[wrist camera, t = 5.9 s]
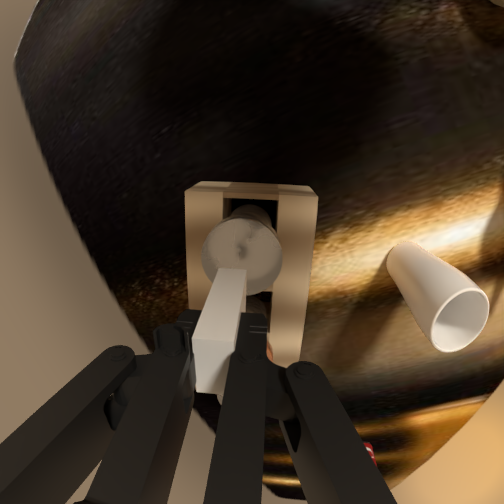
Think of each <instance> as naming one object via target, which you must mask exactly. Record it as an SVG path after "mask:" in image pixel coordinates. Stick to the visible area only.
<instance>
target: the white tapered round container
mask: <svg viewBox="0 0 504 504" xmlns="http://www.w3.org/2000/svg"><path fill="white" fill-rule="evenodd" d="M489 1H491V2H492V3H494V4H496V5H498V6H501V7H504V0H489Z"/></svg>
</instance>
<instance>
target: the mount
mask: <svg viewBox="0 0 504 504" xmlns="http://www.w3.org/2000/svg"><path fill="white" fill-rule="evenodd" d="M232 198H244V199H265V200H277V204H276V221H275V232H276V233H277V235H278V237H279V239H280V242H281V247H282V267H281V271H280V273H279V275H278V277H277V279H276V280H275V281H274V283H273V284H272V285H271V286H269V287H268V288H267V289H265V290H264V291H271V298H270V302H266V301H262V302H263V303H264V305H265V307H266V318H267V340H268V341H269V343H270V345H271V346H272V349H273V363H274V364H276V365H279V366H282V367H285V368H287V367H288V366H289V365H291V364H292V363H295V362H298V361H299V356H300V349H301V343H302V336H303V329H304V322H305V315H306V307H307V299H308V292H309V283H310V275H311V266H312V258H313V248H314V239H315V228H316V218H317V207H318V196H317V195H316V194H315V193H314V191H313V190H312V189H311V188H310V187H309V186H299V185H283V184H265V183H243V182H211V181H201V182H199V183H198V184H196V185H194V186H193V187H191V188H189V189H188V190H186V191H185V229H186V260H187V282H188V300H189V309H194V310H203V308H204V305H205V302H206V300H207V297H208V295H209V292H210V289H211V287H212V284H213V283H212V282H211V281H210V280H209V278H208V277H207V276H206V274H205V272H204V269H203V266H202V262H201V251H202V247H203V244H204V241H205V239H206V238H207V236H208V234H209V233H210V231H211V230H212V229H213V227H214V226H215V225H216V224H217V223H219V222H220V221H222V220H223V219H225V218H227V217H230V215H231V210H232ZM195 387H196V384H195Z"/></svg>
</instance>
